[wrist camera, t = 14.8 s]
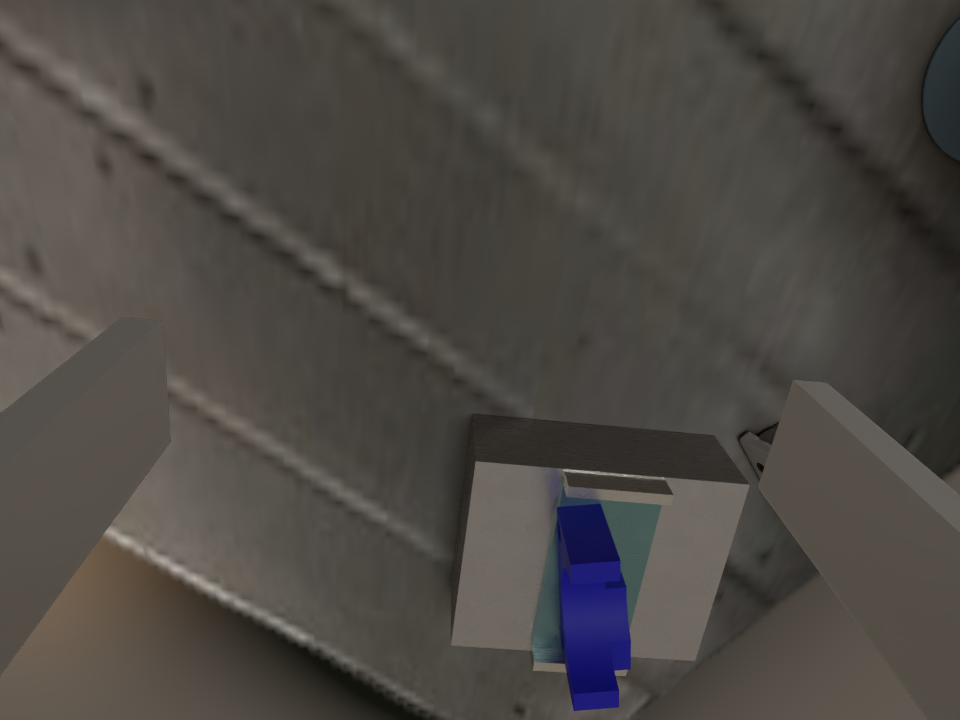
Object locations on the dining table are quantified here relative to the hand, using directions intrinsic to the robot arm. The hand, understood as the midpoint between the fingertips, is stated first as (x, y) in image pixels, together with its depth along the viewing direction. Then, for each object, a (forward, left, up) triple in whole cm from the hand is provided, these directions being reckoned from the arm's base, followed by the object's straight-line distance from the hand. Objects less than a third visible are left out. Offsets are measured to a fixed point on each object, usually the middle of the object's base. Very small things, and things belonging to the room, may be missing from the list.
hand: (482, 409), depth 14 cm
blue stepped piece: (+12, -25, -26) cm, 38 cm away
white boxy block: (+12, -25, -34) cm, 44 cm away
